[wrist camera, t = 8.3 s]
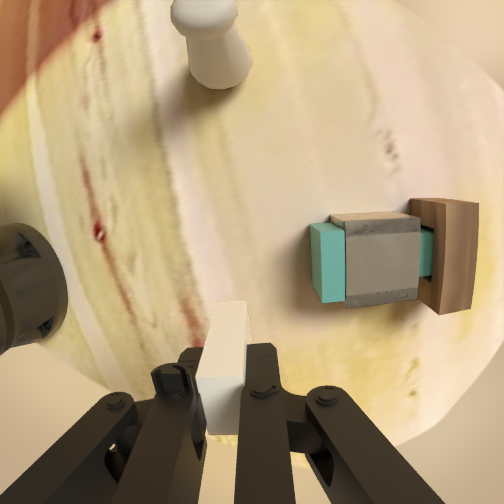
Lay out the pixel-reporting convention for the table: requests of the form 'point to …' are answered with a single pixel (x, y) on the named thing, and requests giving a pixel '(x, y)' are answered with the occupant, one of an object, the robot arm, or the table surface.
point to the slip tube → (333, 259)
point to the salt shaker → (212, 41)
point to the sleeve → (380, 257)
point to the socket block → (449, 252)
